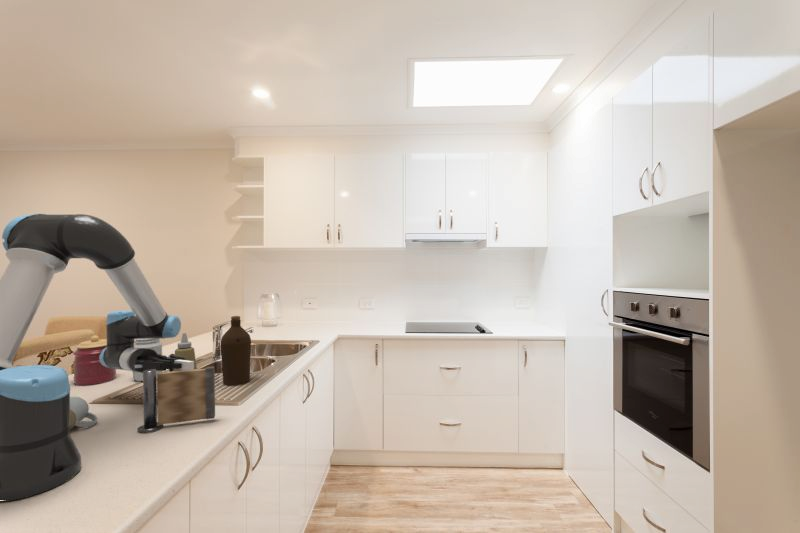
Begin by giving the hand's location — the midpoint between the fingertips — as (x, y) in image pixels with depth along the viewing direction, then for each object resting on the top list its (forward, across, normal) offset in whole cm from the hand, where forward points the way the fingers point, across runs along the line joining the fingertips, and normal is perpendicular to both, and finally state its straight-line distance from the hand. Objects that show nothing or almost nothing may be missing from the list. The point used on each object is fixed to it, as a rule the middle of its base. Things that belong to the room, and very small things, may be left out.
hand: (191, 366), depth 114 cm
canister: (-64, -10, -14) cm, 66 cm away
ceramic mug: (-23, +19, -15) cm, 33 cm away
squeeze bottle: (-32, -23, -14) cm, 42 cm away
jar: (-47, -19, -14) cm, 52 cm away
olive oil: (-11, -28, -14) cm, 33 cm away
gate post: (-2, +12, -14) cm, 19 cm away
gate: (+5, +6, -13) cm, 16 cm away
